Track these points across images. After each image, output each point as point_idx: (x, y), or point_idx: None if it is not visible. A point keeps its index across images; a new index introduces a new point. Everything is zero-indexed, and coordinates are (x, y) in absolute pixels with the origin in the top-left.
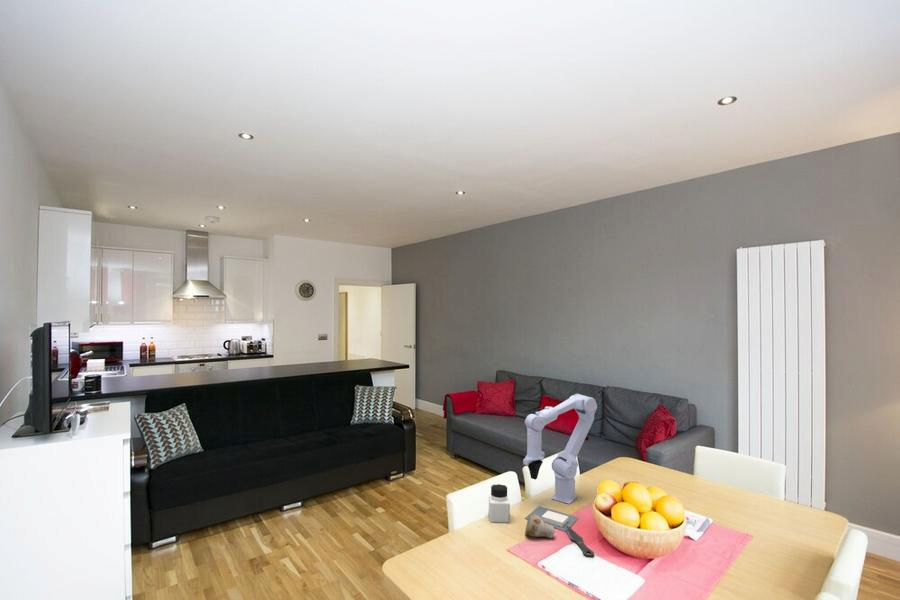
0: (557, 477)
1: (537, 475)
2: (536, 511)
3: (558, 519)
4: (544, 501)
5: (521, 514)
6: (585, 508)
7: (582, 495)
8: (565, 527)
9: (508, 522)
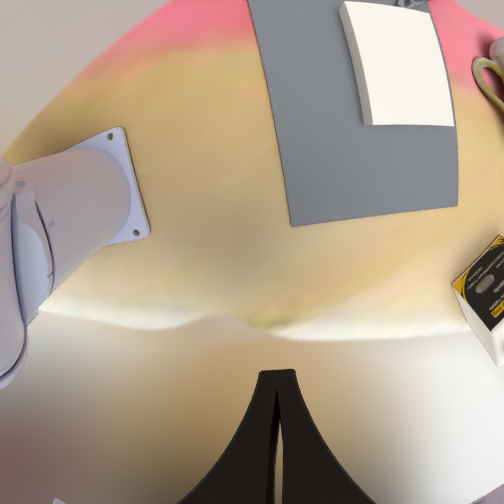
0: (48, 264)
1: (264, 394)
2: (368, 198)
3: (420, 36)
4: (205, 242)
5: (428, 240)
6: (106, 50)
7: None
8: None
9: (500, 236)
